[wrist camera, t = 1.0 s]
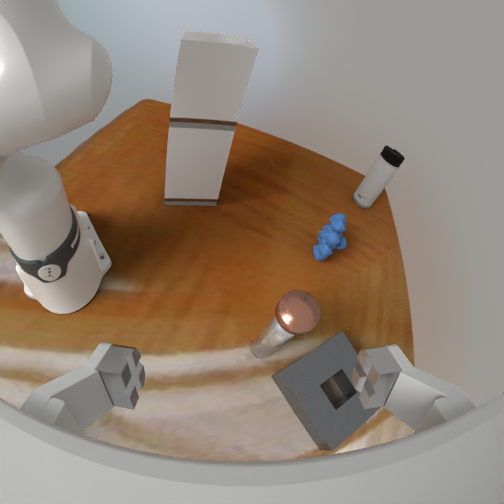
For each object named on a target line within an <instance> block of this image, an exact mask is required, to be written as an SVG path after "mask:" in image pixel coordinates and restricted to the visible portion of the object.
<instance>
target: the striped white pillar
mask: <svg viewBox="0 0 504 504" xmlns="http://www.w3.org/2000/svg"><path fill="white" fill-rule="evenodd" d="M257 51H258V49H257V48H256V47H255V46H254V45H253V44H252V43H251V42H250V41H249V40H248V39H247V38H245V37H239V36H233V35H227V34H219V33H211V32H201V31H200V32H199V31H188V30H184V32H183V37H182V40H181V46H180V51H179V56H178V62H177V68H176V75H175V83H174V89H173V97H172V105H171V114H170V123H169V134H168V146H167V160H166V178H165V205H200V206H216V205H217V201H218V196H219V192H220V188H221V184H222V179H223V175H224V171H225V167H226V163H227V159H228V155H229V151H230V147H231V143H232V139H233V136H234V132H235V128H236V124H237V121H238V117H239V113H240V110H241V106H242V102H243V99H244V95H245V92H246V88H247V85H248V82H249V78H250V75H251V71H252V68H253V65H254V61H255V58H256V55H257Z"/></svg>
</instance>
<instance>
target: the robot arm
mask: <svg viewBox="0 0 504 504" xmlns="http://www.w3.org/2000/svg"><path fill="white" fill-rule="evenodd" d="M111 84H112V66H111V61H110V58H109V55H108V53H107V51H106V50H105V48H104V47H103V46H102V44H100V43H99V42H98V41H97V40H96V39H94V38H93V37H91V36H89V35H87V34H85V33H83V32H81V31H80V30H79V29H77V28H76V27H75V26H73V25H72V24H71V23H70V22H69V21H68V19H67V18H66V17H65V16H64V15H63V13H62V11H61V9H60V7H59V5H58V2H57V0H0V232H1V234H2V235H3V237H4V238H5V240H6V241H7V243H8V244H9V248H10V251H11V254H12V255H13V258H14V260H15V261H16V263H17V266H16V270H17V272H18V274H19V275H20V277H21V279H22V280H23V282H24V292H25V293H26V295H27V296H28V297H30V298H33V299H36V300H38V301H39V302H40V303H41V304H42V306H44V307H45V308H46V309H47V310H49V311H51V312H54V313H59V314H66V313H71V312H74V311H77V310H79V309H81V308H82V307H84V306H85V305H86V304H87V303H88V302H89V301H90V300H91V299H92V298H93V297H94V295H95V294H96V292H97V290H98V288H99V285H100V282H101V279H102V277H103V275H104V274H105V273H106V272H107V271H108V270H109V268H110V267H111V264H112V262H111V260H110V258H109V256H108V254H107V252H106V251H105V249H104V247H103V245H102V243H101V241H100V239H99V237H98V235H97V233H96V231H95V229H94V227H93V225H92V223H91V221H90V219H89V217H88V215H87V213H86V212H82V211H77V210H76V208H75V206H74V205H71V204H69V203H68V200H67V196H66V193H65V190H64V186H63V182H62V179H61V176H60V174H59V172H58V171H57V170H56V168H55V167H54V166H53V165H52V164H50V163H49V162H48V161H46V160H44V159H42V158H38V157H33V156H28V155H25V154H22V153H20V152H19V150H22V149H25V148H27V147H30V146H33V145H36V144H39V143H42V142H45V141H49V140H52V139H55V138H57V137H60V136H62V135H64V134H66V133H68V132H70V131H72V130H74V129H77V128H79V127H80V126H83V125H85V124H87V123H89V122H91V121H93V120H94V119H95V118H96V117H97V115H98V114H99V113H100V111H101V110H102V108H103V106H104V104H105V102H106V100H107V98H108V95H109V93H110V89H111ZM102 257H104V258H103V259H101V258H102ZM140 357H141V355H140V352H139V349H137V348H135V347H128V346H122V345H116V344H109V343H103V342H102V343H100V344H99V345H98V347H97V348H96V349H95V351H94V352H93V354H92V355H91V357H90V358H89V360H88V361H87V363H86V364H85V366H84V367H79V368H77V369H75V370H73V371H71V372H69V373H66V374H64V375H62V376H60V377H58V378H56V379H54V380H52V381H50V382H48V383H46V384H44V385H42V386H39V387H37V388H35V389H34V390H33V392H32V393H31V394H30V396H29V397H28V399H27V400H26V402H25V403H24V405H23V406H22V407H21V409H19V408H17V407H16V406H14V405H12V404H10V403H8V402H6V401H5V400H3V399H1V398H0V504H504V392H503V393H502V394H500V395H499V396H497V397H495V398H493V399H492V400H490V401H488V402H486V403H484V404H482V405H481V406H479V407H477V408H476V407H475V405H474V404H473V403H472V401H471V400H470V399H469V397H468V396H467V395H466V393H465V392H464V391H463V390H462V389H461V388H459V387H457V386H455V385H452V384H450V383H448V382H446V381H444V380H441V379H440V378H438V377H435V376H433V375H431V374H429V373H427V372H425V371H423V370H421V369H419V368H414V367H413V366H412V364H411V363H410V362H409V360H408V359H407V357H406V356H405V355H404V353H403V352H402V351H401V349H400V348H399V347H398V346H397V345H396V344H393V345H387V346H383V347H375V348H367V349H361V350H360V352H359V354H358V357H357V358H358V360H359V363H358V364H357V365H355V366H354V370H353V384H354V387H355V389H356V390H358V391H359V392H361V393H360V396H359V398H360V400H361V403H362V405H363V407H364V409H369V408H375V407H380V406H384V407H385V408H386V409H387V410H389V411H390V412H391V413H393V414H394V415H395V416H396V417H398V418H399V419H400V420H402V421H403V422H404V423H406V424H407V425H408V426H410V427H411V428H412V429H414V430H415V432H414V433H413V435H410V436H407V437H404V438H400V439H397V440H394V441H390V442H387V443H383V444H379V445H375V446H371V447H367V448H363V449H359V450H354V451H349V452H344V453H338V454H332V455H326V456H319V457H312V458H303V459H293V460H279V461H250V462H243V461H214V460H200V459H190V458H181V457H174V456H167V455H161V454H155V453H149V452H144V451H139V450H135V449H130V448H126V447H122V446H118V445H114V444H110V443H106V442H103V441H99V440H96V439H93V438H90V437H87V436H85V434H84V433H83V431H84V430H85V429H87V428H88V427H89V426H90V425H92V424H93V423H94V422H96V421H97V420H98V419H99V418H101V417H102V416H103V415H104V414H106V413H107V412H108V411H109V410H111V409H112V408H113V407H114V406H116V407H122V408H128V409H135V406H136V403H137V401H138V398H139V396H138V393H137V392H138V391H139V390H141V389H142V388H143V385H144V380H145V371H144V367H143V365H142V364H141V363H140V362H139V359H140Z"/></svg>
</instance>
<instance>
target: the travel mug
mask: <svg viewBox="0 0 504 504" xmlns="http://www.w3.org/2000/svg"><path fill="white" fill-rule="evenodd" d="M403 160H404V157H403V156H402V155H401V154H400V153H399V152H398V151H396V150H393V149H392V148H389V146H385V147H384V149H383V151H382V152H381V154H380V155H379V157H378V158H377V160H376V161H375V163H374V164H373V166H372V167H371V169H370V170H369V172H368V174H367V175H366V176H365V178H364V179H363V181H362V182H361V184H360V185H359V187H358V188H357V190H356V192H355V193H354V194H353V199H354V201H355V203H356V204H357V205H359V206H360V207H362V208H365V209H368V208H370V207H371V205H372V204H373V203H374V201H375V200H376V199H377V197H378V196H379V194H380V193H381V192H382V190H383V189H384V188H385V186H386V185H387V183H388V182H389V181H390V179H391V178H392V177H393V175H394V174H395V172H396V171H397V169H398V168H399V166H400V164H401V163H402V162H403Z"/></svg>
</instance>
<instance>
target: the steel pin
mask: <svg viewBox="0 0 504 504" xmlns="http://www.w3.org/2000/svg"><path fill="white" fill-rule="evenodd" d="M275 315H276V316H275V317H274V318H273V319H272V320H271V321H270V323H269V324H268V325H267V326H266V327H265V328H264V329H263V331H262V332H261V333H260V334H259V335H258V336H257V337H256V338H255V339H254V341H253V342H252V343H251V346H250V349H251V352H252V354H253V355H254V356H255V357H257V358H261V359H263V358H266V357H268V356H269V355H270V354H272V353H273V352H274V351H275V350H277V349H278V348H279V347H281V346H282V345H283V344H284V343H286V342H287V341H288V340H289V339H291V338H292V337H293V336H294V335H304V334H306V333H308V332H309V331H311V330H312V329H313V328H315V327H316V326H317V325H318V323H319V321H320V318H321V310H320V306H319V304H318V302H317V301H316V299H315V298H314V297H313V296H312V295H310V294H309V293H307V292H305V291H302V290H292V291H289V292H287V293H286V294H285V295H284V296H283V297H282V298H281V300H280V301H279V302H278V304H277V306H276V310H275Z"/></svg>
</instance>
